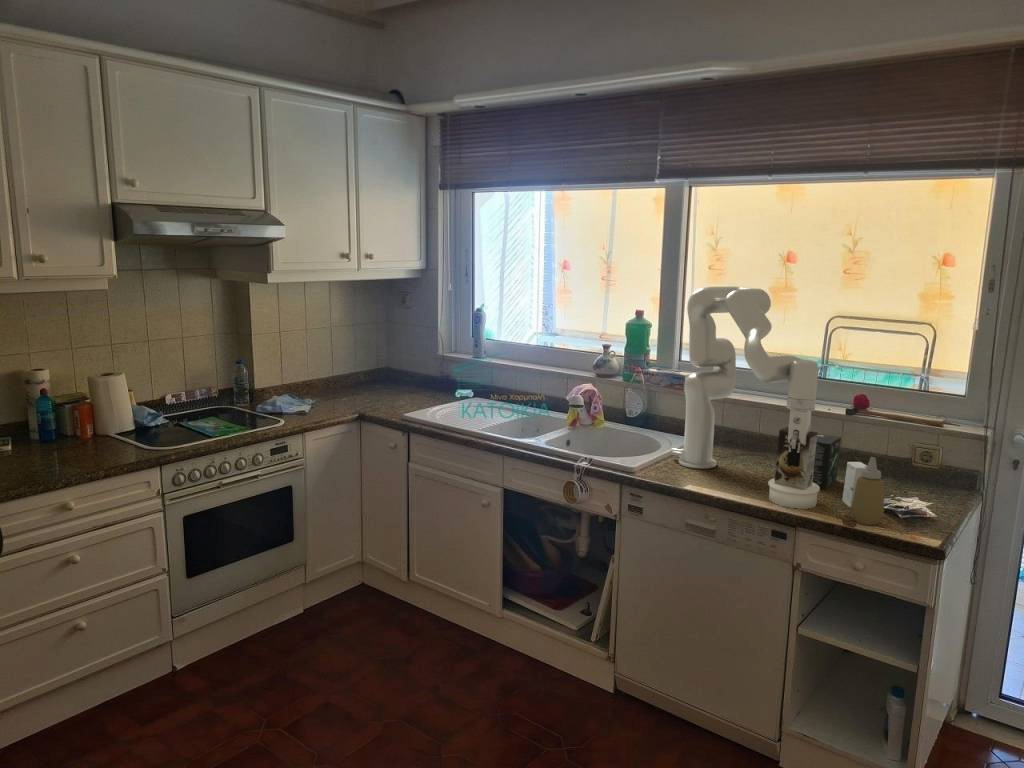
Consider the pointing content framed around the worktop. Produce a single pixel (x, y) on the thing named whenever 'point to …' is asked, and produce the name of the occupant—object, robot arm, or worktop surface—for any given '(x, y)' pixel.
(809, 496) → the podium
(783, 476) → the coffee box
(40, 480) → the worktop surface
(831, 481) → the tampon box
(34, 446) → the worktop surface
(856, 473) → the skincare box
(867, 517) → the squeeze bottle
